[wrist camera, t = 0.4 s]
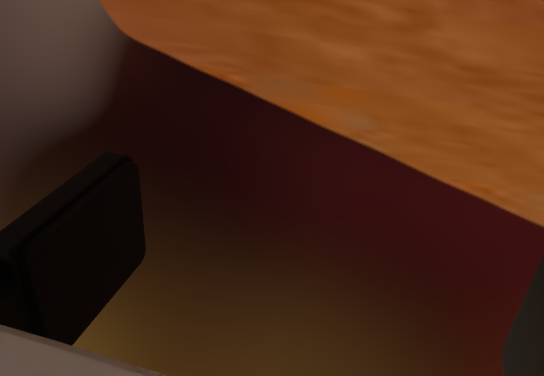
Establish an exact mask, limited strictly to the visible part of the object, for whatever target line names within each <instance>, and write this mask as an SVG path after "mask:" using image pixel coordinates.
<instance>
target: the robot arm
mask: <svg viewBox="0 0 544 376" xmlns="http://www.w3.org/2000/svg"><path fill="white" fill-rule="evenodd" d="M145 250H146V248H145V236H144V225H143V213H142V202H141V191H140V179H139V169H138V165H137V164H136V163H134V162H133V160H132V158H131V157H130V156H128V155H123V154H119V153H114V152H110V151H109V152H108V151H107V152H105V153H103V154H102V155H101V156H99V157H98V158H96V159H95V160H94V161H93V162H91V163H90V164H89V165H87V166H86V167H85V168H83V169H82V170H81V171H79V172H78V173H77V174H75V175H74V176H73V177H71V178H70V179H69V180H67V181H66V182H65V183H63V184H62V185H61V186H59V187H58V188H57V189H55V190H54V191H53V192H51V193H50V194H49V195H47V196H46V197H45V198H43V199H42V200H41V201H40V202H39V203H37V204H36V205H34V206H33V207H32V208H30V209H29V210H28V211H26V212H25V213H24V214H22V215H21V216H20V217H18V218H17V219H16V220H15V221H13V222H12V223H10V224H9V225H8V226H6V227H5V228H4V229H2V230H1V231H0V376H167V375H163V374H161V373H157V372H154V371H151V370H147V369H145V368H141V367H138V366H135V365H132V364H128V363H125V362H122V361H119V360H116V359H113V358H109V357H106V356H103V355H100V354H96V353H93V352H90V351H87V350H84V349H80V348H77V347H74V346H72V345H73V344H74V343H75V341H76V340H77V339H78V338H79V337H80V335H81V334H82V333H83V332H84V330H85V329H86V328H87V327H88V326H89V325H90V323H91V322H92V321H93V320H94V319H95V317H96V316H97V315H98V314H99V313H100V311H101V310H102V309H103V308H104V307H105V305H106V304H107V303H108V302H109V301H110V299H111V298H112V297H113V296H114V295H115V294H116V292H117V291H118V290H119V289H120V288H121V286H122V285H123V284H124V283H125V282H126V280H127V279H128V278H129V277H130V276H131V274H132V273H133V272H134V271H135V269H136V268H137V267H138V266H139V265H140V264H141V262H142V260H143V258H144V256H145ZM502 362H503V371H504V376H544V256H543V258H542V260H541V262H540V264H539V267H538V269H537V271H536V273H535V276H534V278H533V280H532V282H531V284H530V287H529V289H528V291H527V293H526V296H525V298H524V300H523V302H522V305H521V307H520V309H519V312H518V314H517V316H516V318H515V320H514V323H513V325H512V327H511V329H510V332H509V334H508V336H507V339H506V341H505V343H504V347H503V352H502Z"/></svg>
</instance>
